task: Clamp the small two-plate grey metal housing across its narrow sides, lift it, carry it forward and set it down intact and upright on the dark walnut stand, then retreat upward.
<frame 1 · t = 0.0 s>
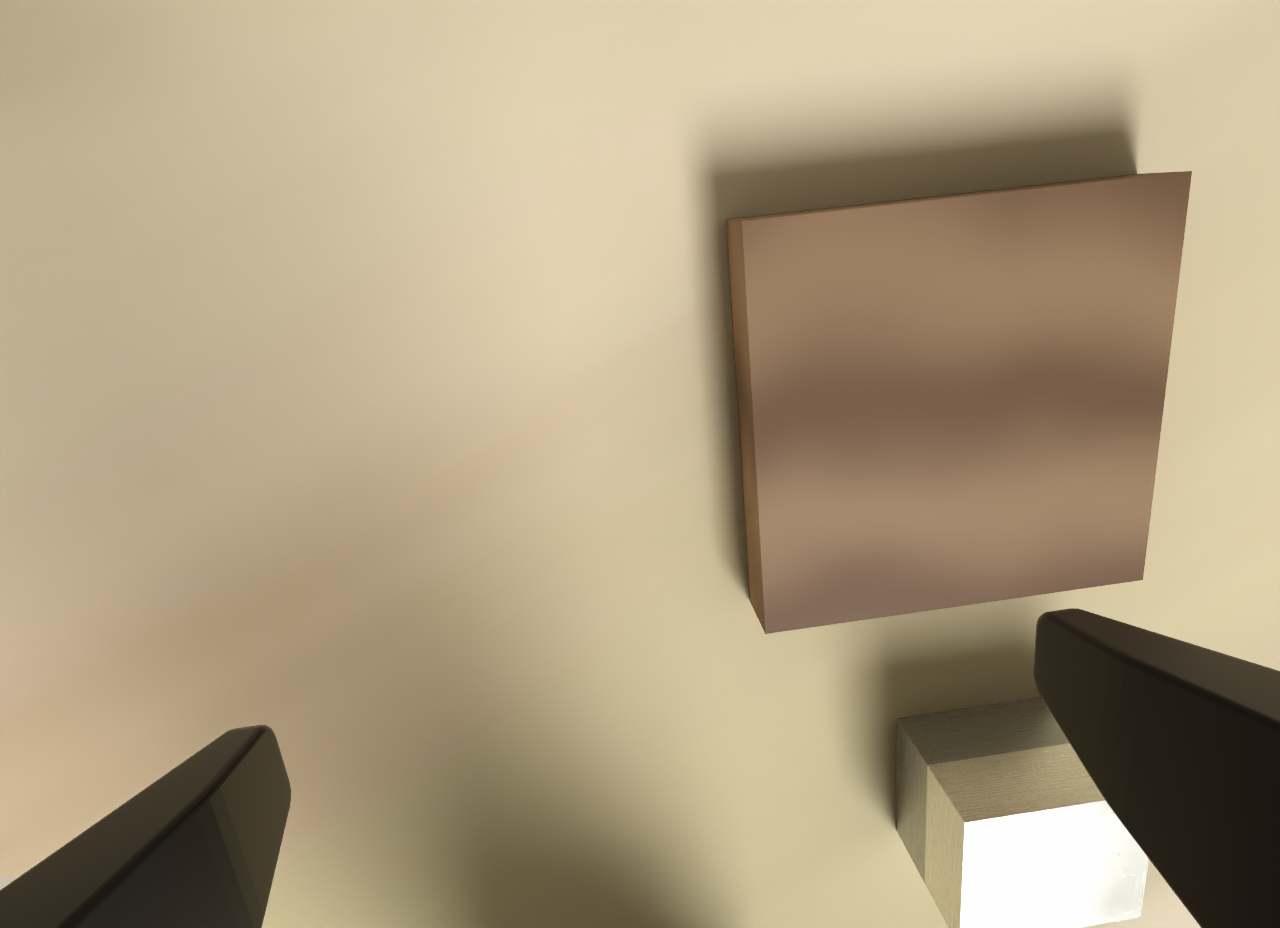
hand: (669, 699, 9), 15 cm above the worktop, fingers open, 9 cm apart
housing: (974, 761, 29), on the worktop
walnut stand: (931, 402, 24), on the worktop
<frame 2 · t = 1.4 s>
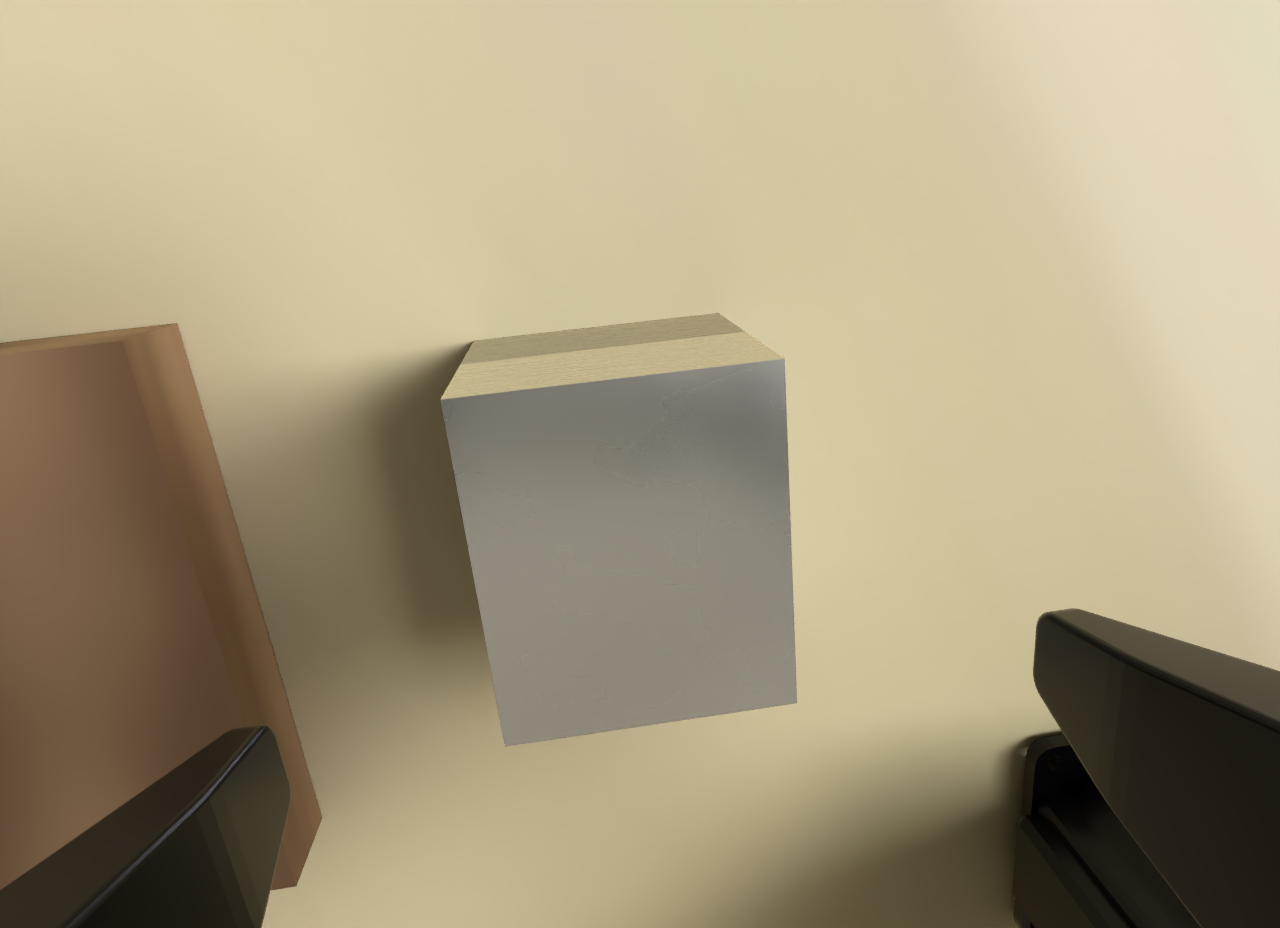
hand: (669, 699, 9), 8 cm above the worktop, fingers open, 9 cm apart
housing: (612, 464, 17), on the worktop
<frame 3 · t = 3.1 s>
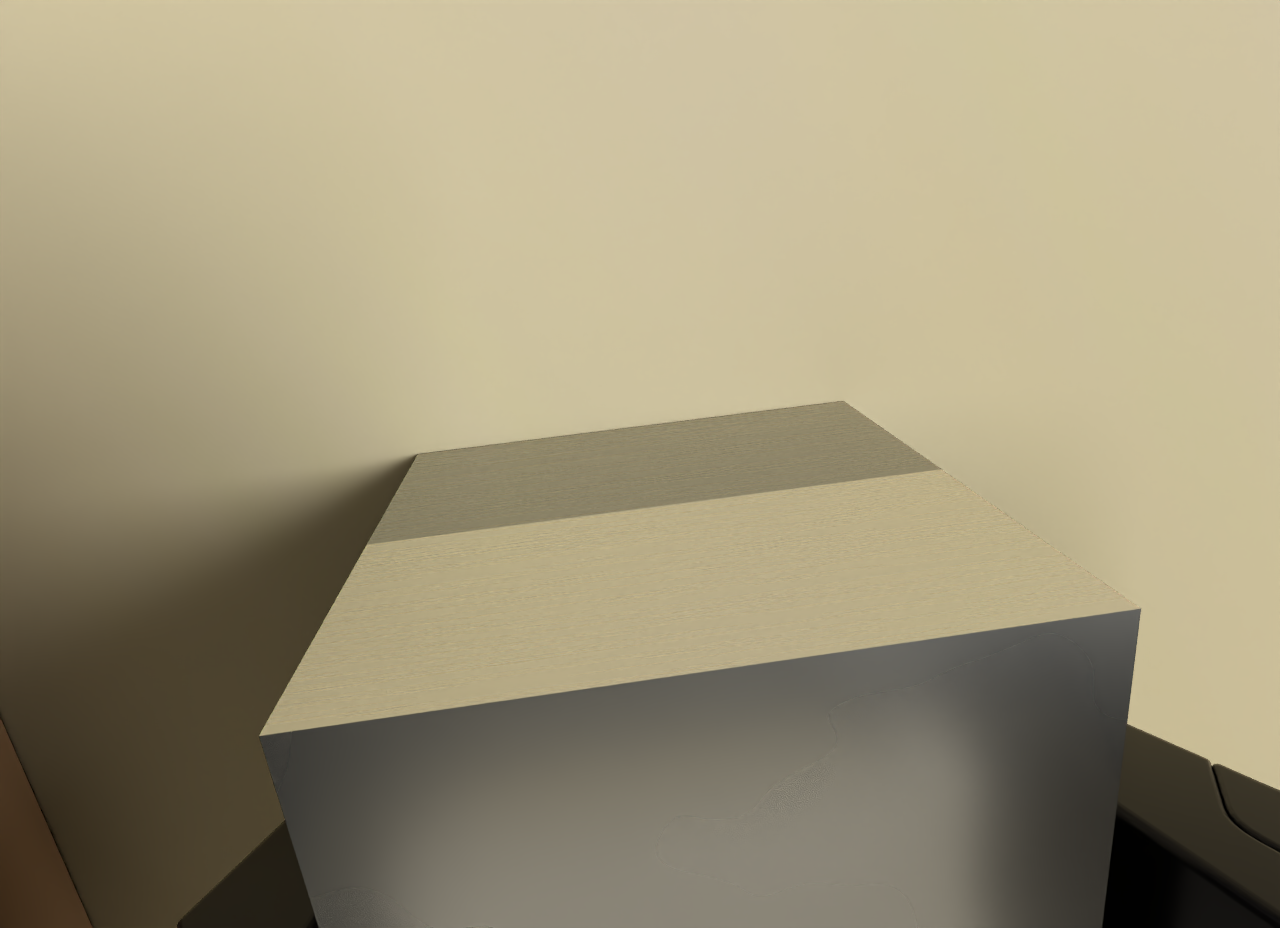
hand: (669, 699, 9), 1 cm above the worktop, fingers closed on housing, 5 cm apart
housing: (658, 649, 10), on the worktop, touching gripper
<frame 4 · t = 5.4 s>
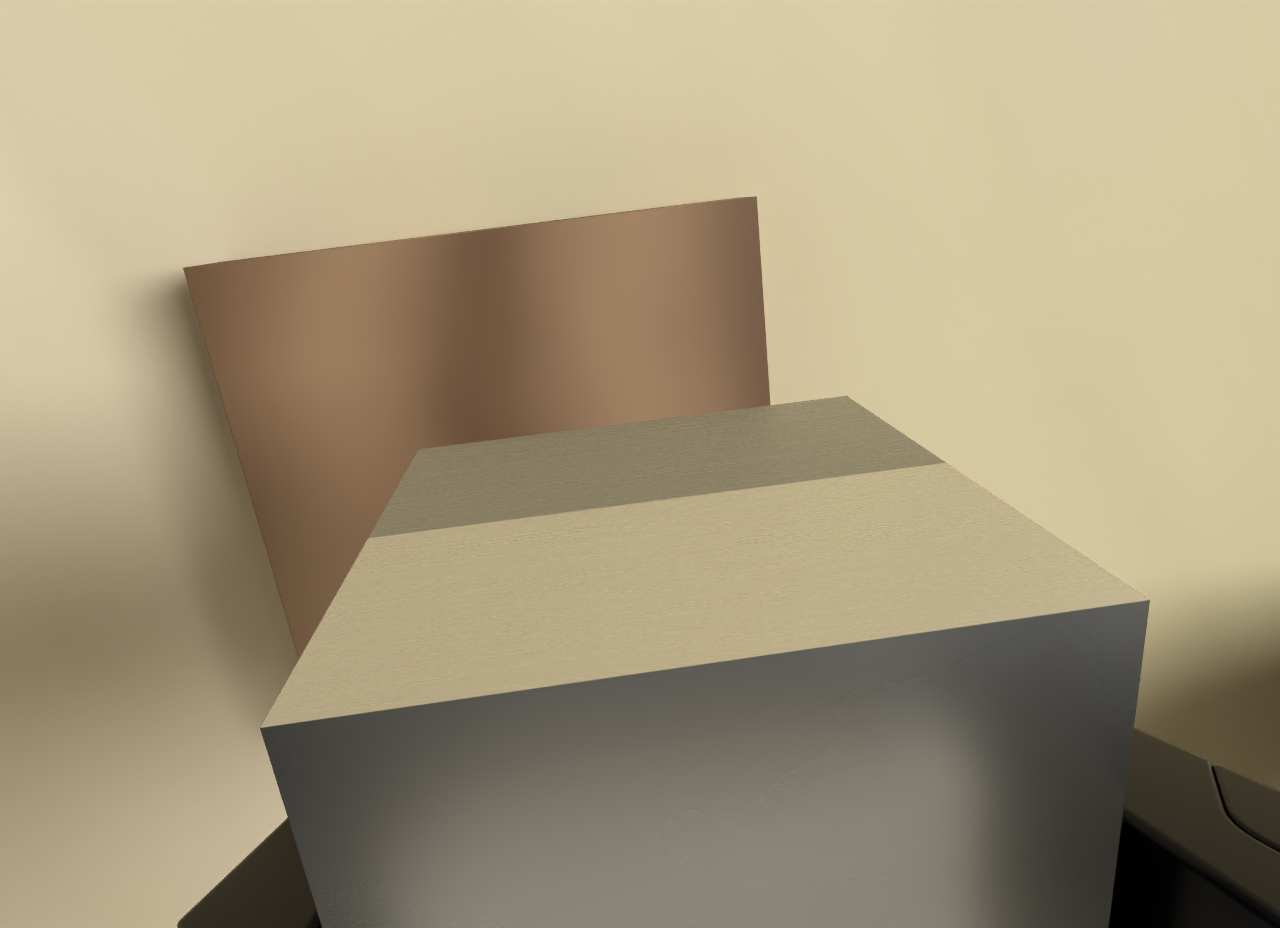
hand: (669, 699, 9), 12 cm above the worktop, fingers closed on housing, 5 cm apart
housing: (660, 646, 10), point 10 cm above the worktop, touching gripper
walnut stand: (526, 470, 20), on the worktop
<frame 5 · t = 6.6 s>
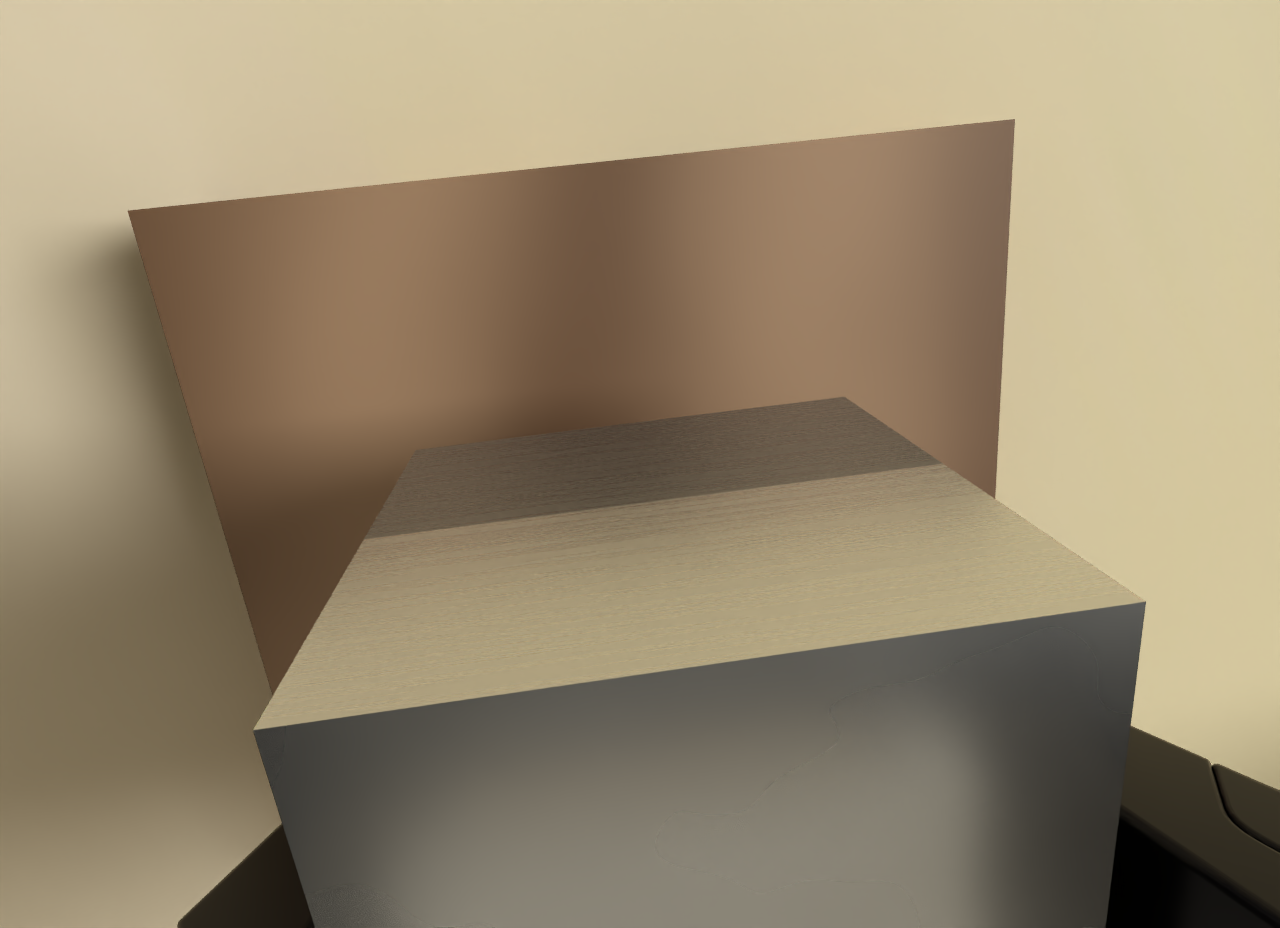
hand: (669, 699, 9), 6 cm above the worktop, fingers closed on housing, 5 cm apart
housing: (657, 647, 10), point 5 cm above the worktop, touching gripper
walnut stand: (622, 516, 14), on the worktop
when the fingers open (4 cm above the worktop, at t = 7.6 s): housing drops 1 cm, resting on walnut stand.
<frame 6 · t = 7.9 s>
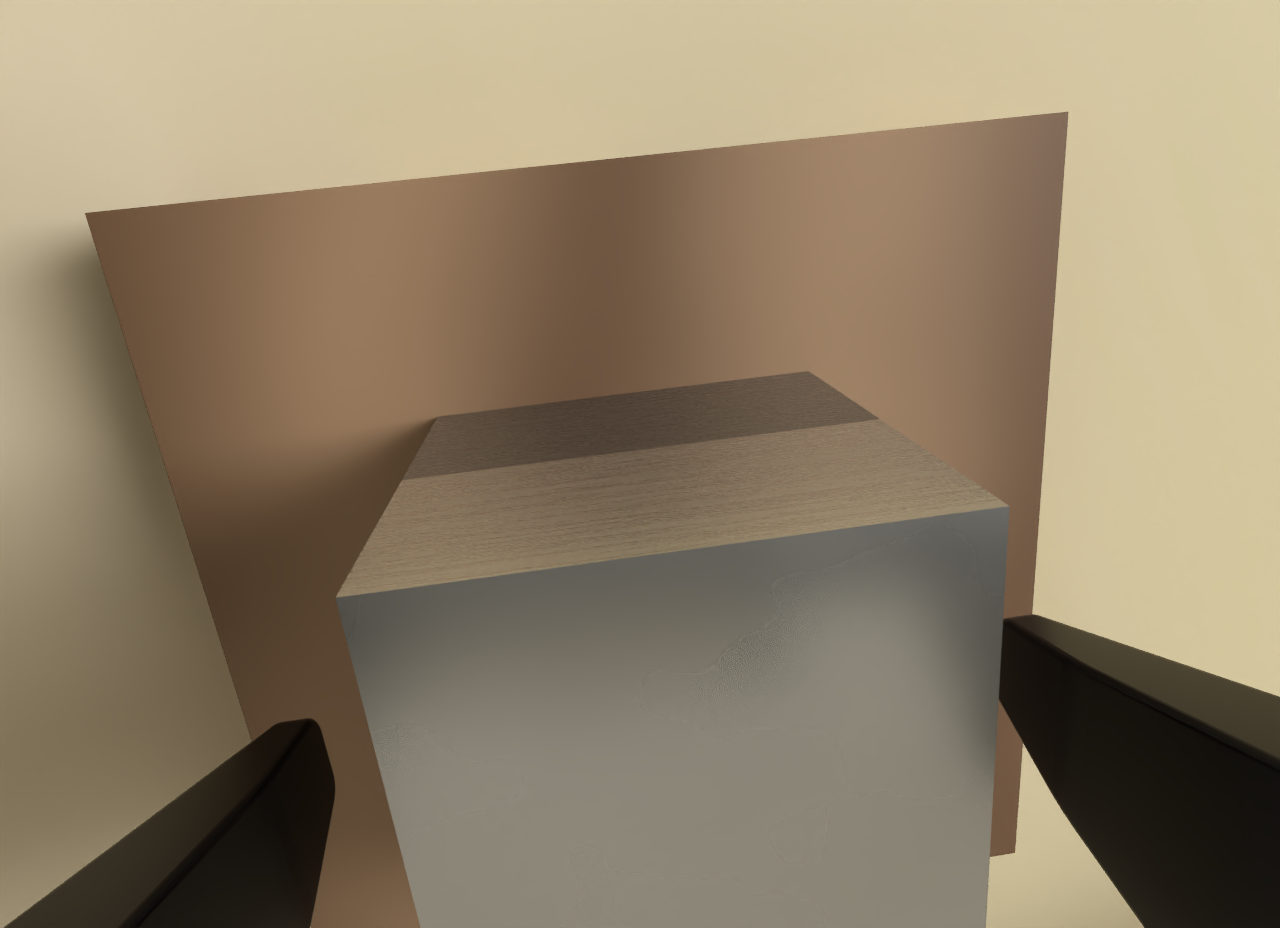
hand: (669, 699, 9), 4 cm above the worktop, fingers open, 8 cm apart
housing: (647, 592, 11), point 2 cm above the worktop, touching walnut stand
walnut stand: (631, 541, 13), on the worktop
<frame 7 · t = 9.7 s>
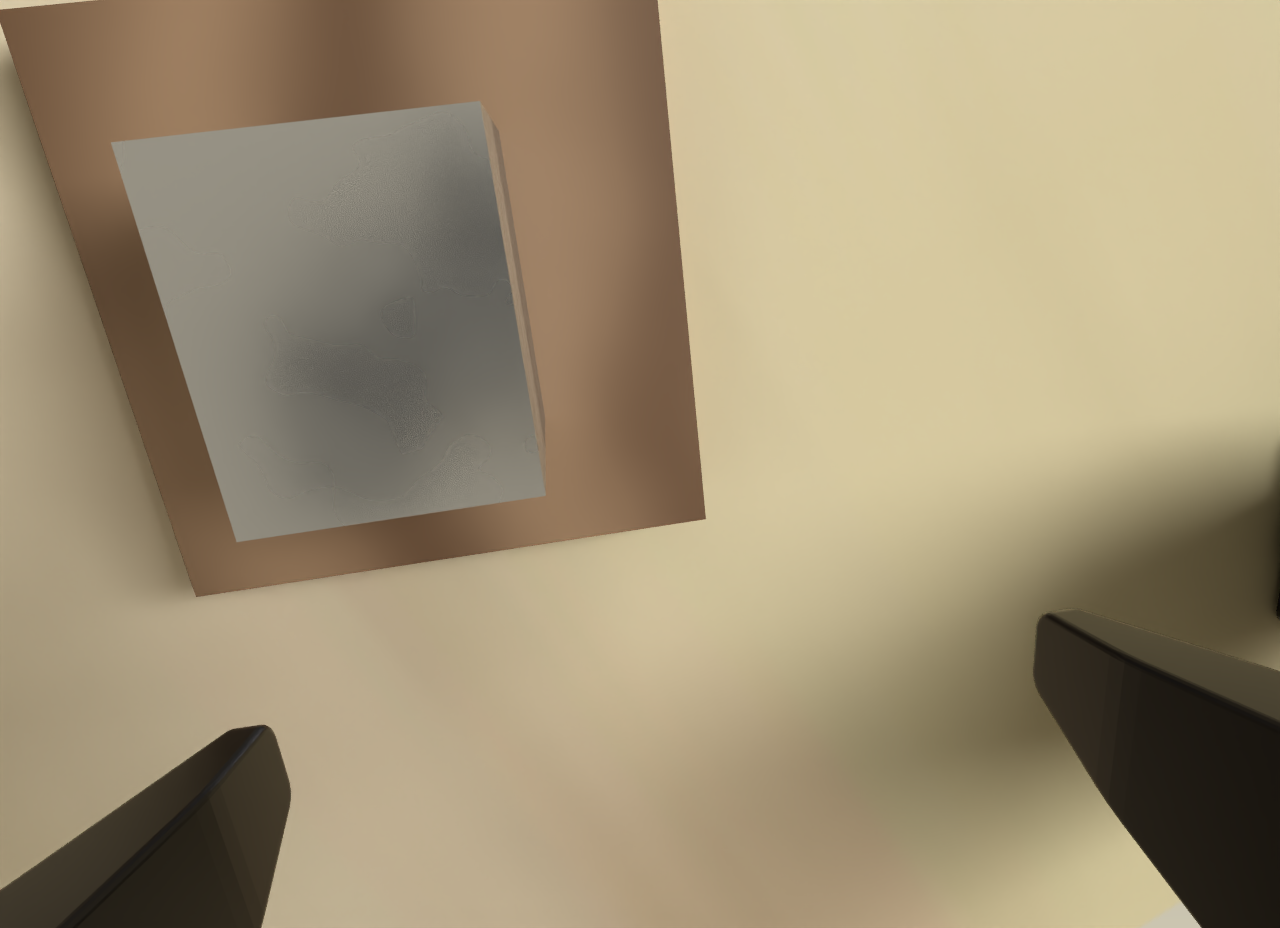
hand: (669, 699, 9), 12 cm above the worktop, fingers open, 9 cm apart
housing: (405, 297, 16), point 2 cm above the worktop, touching walnut stand
walnut stand: (417, 291, 18), on the worktop
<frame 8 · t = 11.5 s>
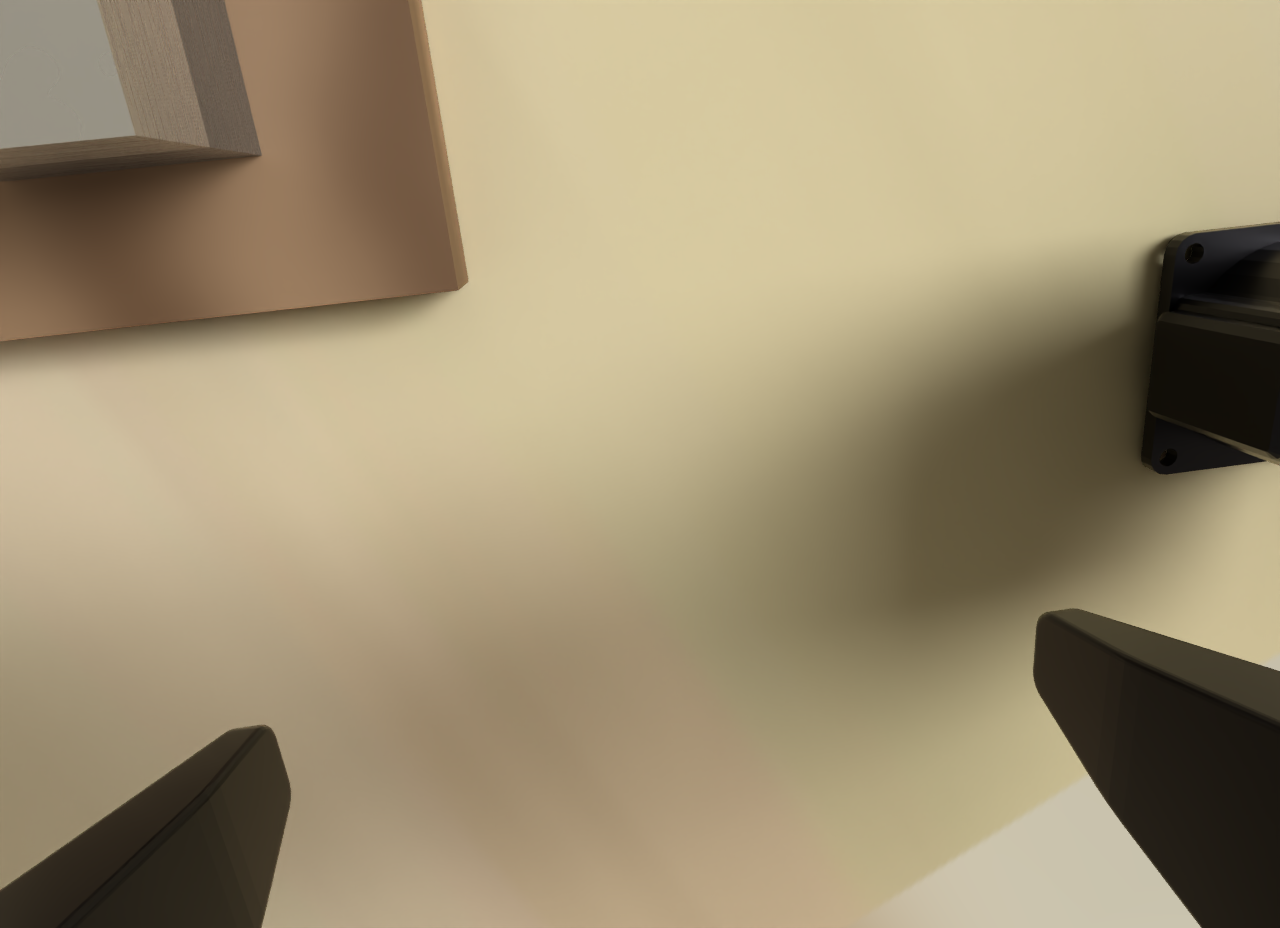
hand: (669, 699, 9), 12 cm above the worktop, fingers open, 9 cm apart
walnut stand: (137, 26, 17), on the worktop
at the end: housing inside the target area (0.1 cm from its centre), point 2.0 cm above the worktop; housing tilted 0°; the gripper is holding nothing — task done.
